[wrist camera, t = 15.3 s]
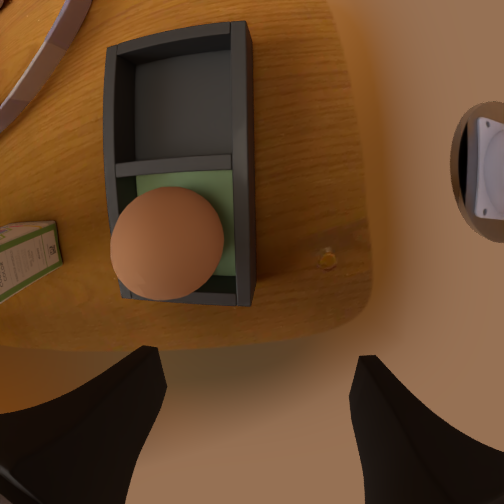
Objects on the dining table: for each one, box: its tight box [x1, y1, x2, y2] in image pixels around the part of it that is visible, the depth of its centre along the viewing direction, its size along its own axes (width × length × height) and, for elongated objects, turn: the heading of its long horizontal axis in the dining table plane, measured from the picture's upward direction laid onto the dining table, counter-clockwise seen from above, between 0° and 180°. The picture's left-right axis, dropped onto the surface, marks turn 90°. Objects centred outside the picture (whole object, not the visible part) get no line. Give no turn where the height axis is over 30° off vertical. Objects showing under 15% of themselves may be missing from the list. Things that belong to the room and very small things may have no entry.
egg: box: [111, 187, 224, 300], centre depth 14 cm, size 5×5×7 cm
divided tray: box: [103, 21, 256, 307], centre depth 15 cm, size 8×15×3 cm, turn 1°
